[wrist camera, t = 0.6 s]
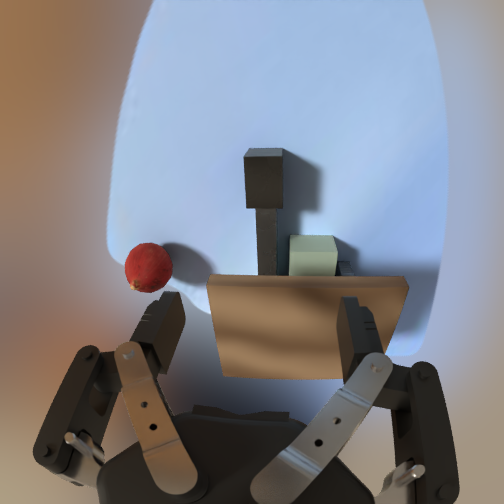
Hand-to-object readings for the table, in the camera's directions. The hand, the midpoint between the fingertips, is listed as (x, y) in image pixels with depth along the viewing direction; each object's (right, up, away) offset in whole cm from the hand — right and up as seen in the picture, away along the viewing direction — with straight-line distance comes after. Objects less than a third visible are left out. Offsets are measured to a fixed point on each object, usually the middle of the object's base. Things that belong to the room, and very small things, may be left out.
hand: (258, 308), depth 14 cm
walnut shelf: (+6, +1, +21) cm, 22 cm away
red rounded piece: (-12, +3, +22) cm, 25 cm away
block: (+7, +3, +20) cm, 21 cm away
